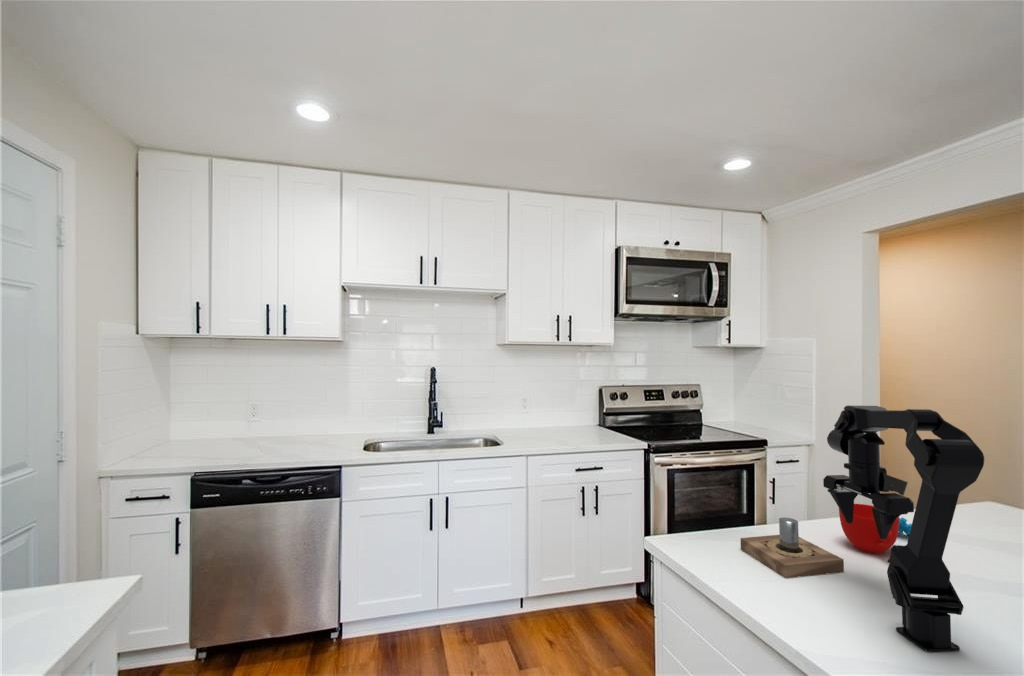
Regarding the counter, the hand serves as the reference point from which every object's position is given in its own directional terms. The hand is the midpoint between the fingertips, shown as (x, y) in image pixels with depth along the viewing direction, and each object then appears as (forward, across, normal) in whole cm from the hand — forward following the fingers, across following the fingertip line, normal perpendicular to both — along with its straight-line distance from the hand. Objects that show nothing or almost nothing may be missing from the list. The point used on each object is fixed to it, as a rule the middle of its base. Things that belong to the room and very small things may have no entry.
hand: (865, 530), depth 104 cm
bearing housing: (+13, +15, +8) cm, 21 cm away
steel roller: (+13, +15, +8) cm, 21 cm away
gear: (+13, +28, -33) cm, 45 cm away
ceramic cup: (+13, +18, -17) cm, 28 cm away
